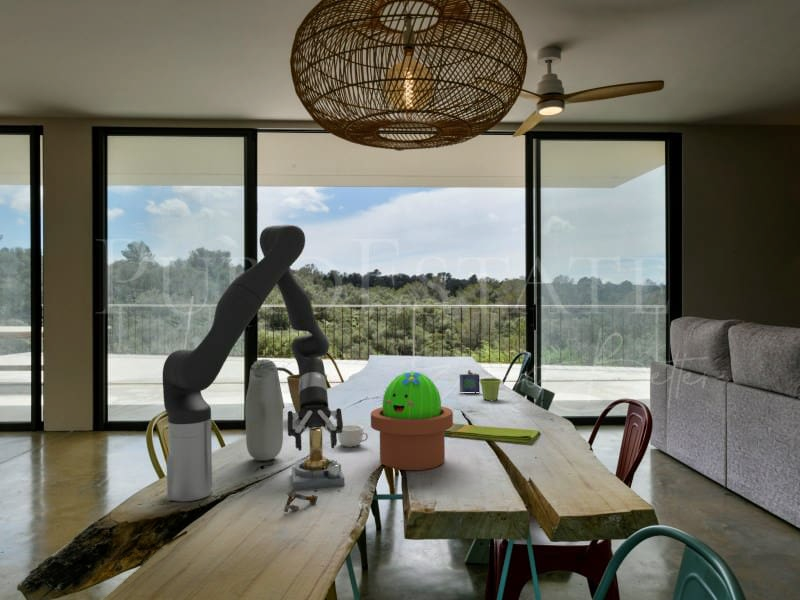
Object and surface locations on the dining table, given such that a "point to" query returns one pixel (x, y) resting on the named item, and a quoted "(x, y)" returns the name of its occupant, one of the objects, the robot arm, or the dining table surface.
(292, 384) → the plant pot
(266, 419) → the white rounded cylinder
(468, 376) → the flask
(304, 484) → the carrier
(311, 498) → the brown thin angular piece
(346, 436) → the teacup
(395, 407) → the potted cactus
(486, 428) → the dish towel
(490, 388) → the plant pot
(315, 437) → the gear
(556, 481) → the dining table surface
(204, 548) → the dining table surface
